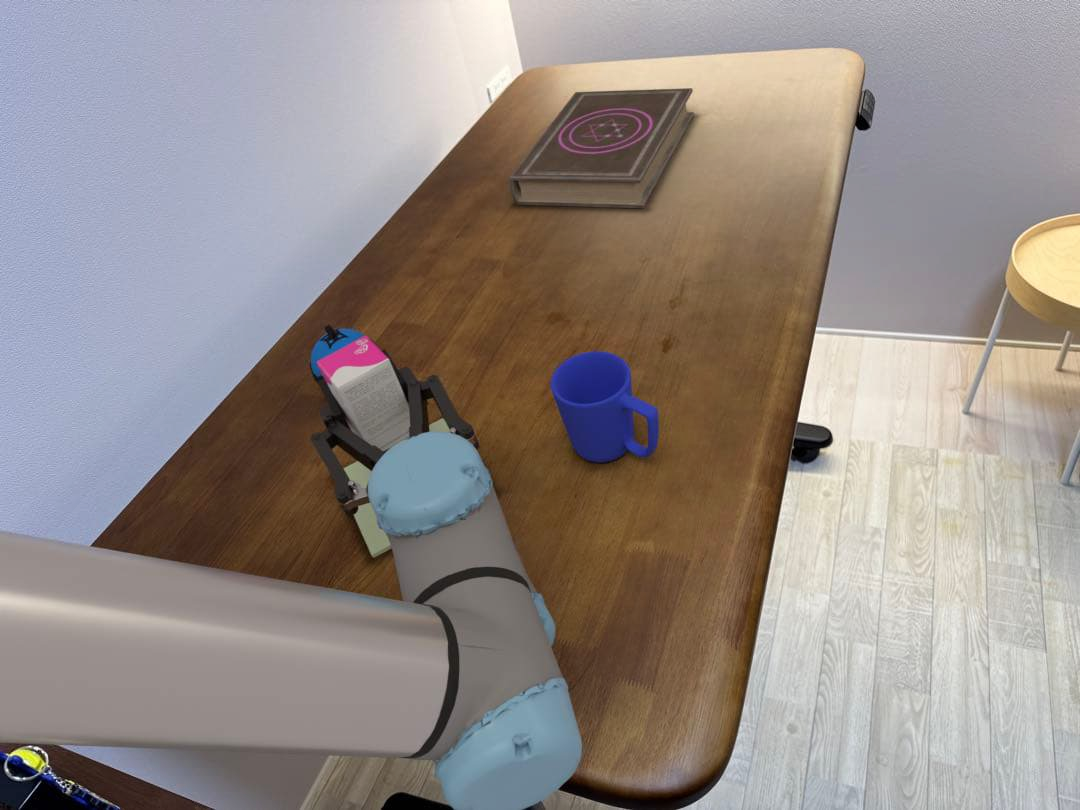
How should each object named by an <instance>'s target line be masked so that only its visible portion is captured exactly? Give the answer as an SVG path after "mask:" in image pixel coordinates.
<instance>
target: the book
mask: <svg viewBox="0 0 1080 810" xmlns="http://www.w3.org/2000/svg"><path fill="white" fill-rule="evenodd" d="M693 90H694V89H693V87H687V88H686V87H684V88H683V87H681V88H658V89H655V88H653V89H629V90H628V89H625V90H598V91H597V90H596V91H575V92H574V93H573V94H572V96H571V97H570V99H569V100H568V101H567V102H566V103H565V105H564V106H563V107H562V108H561V110H560V111H559V112H558V114H557V115H556V116H555V118H554V119H553V120H552V121H551V123H550V124H549V125H548V127H546V129H545V131H544V132H543V133H542V134H541V136H539V139H538V140H537V141H536V142H535V144H534V145H533V146H532V147H531V149H530V150H529V151H528V153H527V154H526V155H525V156H524V158H523V159H522V160H521V161H520V163H519V164H518V166H517V167H516V168H515V169H514V171H513V172H512V173H511V175H510V176H509V178H508V186H509V192H510V196H511V198H512V199H513V201H514V203H515V205H518V206H545V207H546V206H549V207H551V206H553V207H582V208H585V207H586V208H611V209H612V208H614V209H615V208H616V209H645V207H646V205H647V204H648V201H649V200H650V198H651V196H652V194H653V193H654V190H655V188H656V187H657V185H658V183H659V181H660V179H661V178H662V175H663V173H664V172H665V171H666V168H667V166H668V165H669V163H670V161H671V159H672V157H673V155H674V153H675V151H676V150H677V147H678V146H679V144H680V142H681V141H682V139H683V137H684V136H685V133H686V131H687V130H688V128H689V126H690V124H691V123H692V121H693V118H694V117H695V112H694V111H688V108H687V103H688V100H689V99H690V97H691V95H692V93H693V92H694V91H693Z"/></svg>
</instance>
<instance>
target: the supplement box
mask: <svg viewBox="0 0 1080 810" xmlns="http://www.w3.org/2000/svg"><path fill="white" fill-rule="evenodd" d="M369 338H370V337H368V336H367V335H365V336H364V337H362V338H360V339H358V340H356V341H354V342H353V343H351V344H349V345H347V346H345V347H344V348H342V349H340V350H338V351H336V352H334V353H332V354H330V355H328V356H326V357H325V358H323V359H321V360H319V361H317V365H318V367H319V369H320V371H321V373H322V375H323V377H324V379H325V380H326V382H327V384H328V386H329V388H330V390H331V392H332V394H333V396H334V398H335V400H336V402H337V404H338V406H339V407H340V409H341V411H342V413H343V415H344V417H345V419H346V421H347V423H348V425H349V427H350V429H351V431H352V432H354V433H355V434H356V435H358V436H359V437H361V438H362V439H363V440H365V441H366V442H368V443H369V444H370V445H372V446H373V445H375V446H376V447H378V448H379V449H380V450H382V451H385V450H387V449H390V448H392V447H393V446H395V445H396V444H397V443H399V442H401V441H403V440H407V439H409V438H410V437H409V427H410V414H409V404H408V402H407V399H406V397H405V395H404V392H403V390H402V388H401V385H400V383H399V381H398V379H397V376H396V374H395V372H394V369H393V367H392V365H391V362H390V360H389V359H388V358H387V356H386V355H385V354H384V353H383V352H382V350H381V349H380V348H379V347H378V346H377V345H376V343H375V342H374V341H373V340H372V339H371V338H370V339H371V340H372V341H373V342H374V343H375V344H374V343H373V342H372V341H371V340H370V339H369Z"/></svg>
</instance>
